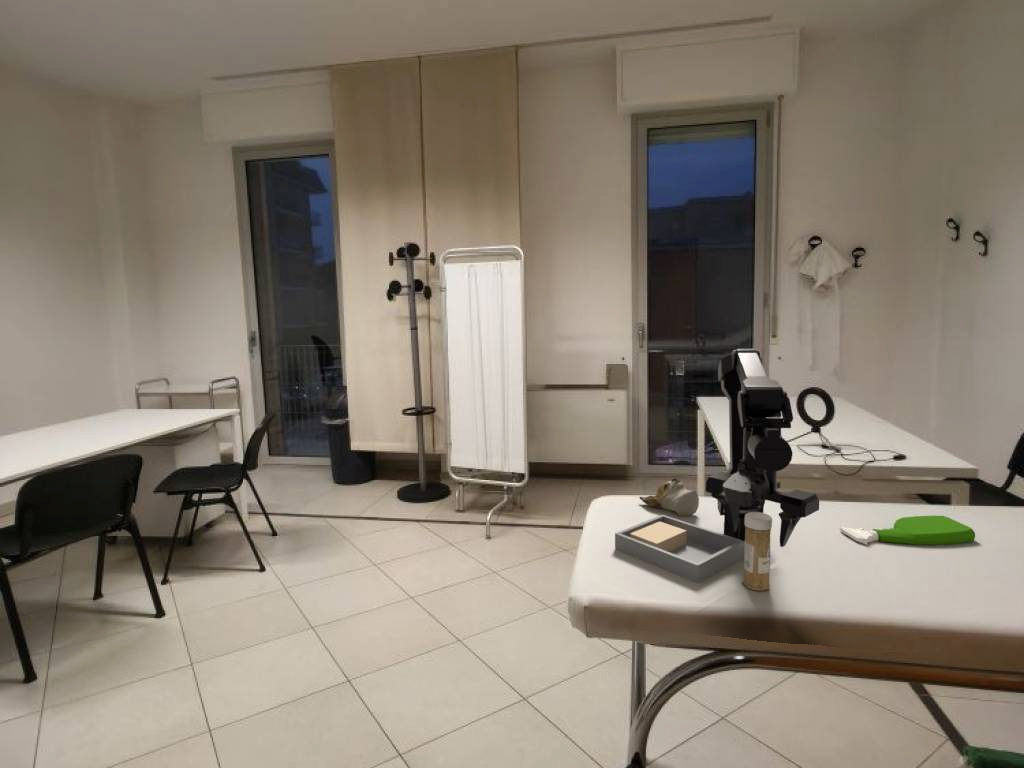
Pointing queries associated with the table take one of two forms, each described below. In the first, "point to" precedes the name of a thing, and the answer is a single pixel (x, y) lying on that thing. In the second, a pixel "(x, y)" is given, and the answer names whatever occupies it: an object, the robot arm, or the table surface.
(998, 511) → the table surface
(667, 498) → the ceramic sculpture
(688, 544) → the tote
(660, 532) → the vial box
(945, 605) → the table surface
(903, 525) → the spray bottle
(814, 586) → the table surface
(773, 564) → the table surface
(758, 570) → the sprinkles bottle
